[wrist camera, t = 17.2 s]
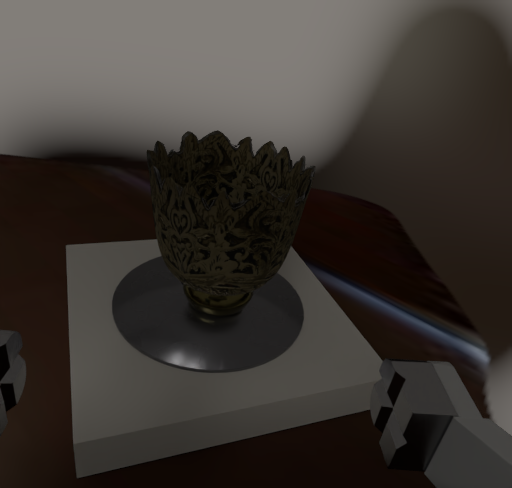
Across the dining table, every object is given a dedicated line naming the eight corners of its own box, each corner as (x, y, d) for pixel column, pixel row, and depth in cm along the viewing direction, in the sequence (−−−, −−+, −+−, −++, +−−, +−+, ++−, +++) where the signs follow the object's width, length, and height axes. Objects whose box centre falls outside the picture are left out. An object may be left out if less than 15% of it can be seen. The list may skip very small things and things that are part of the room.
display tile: (68, 272, 29) (65, 242, 27) (275, 255, 34) (280, 229, 33) (76, 478, 17) (72, 440, 16) (383, 406, 23) (396, 373, 21)
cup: (229, 373, 20) (252, 208, 16) (114, 300, 23) (110, 148, 19) (310, 299, 26) (342, 163, 22) (208, 248, 29) (220, 122, 25)
